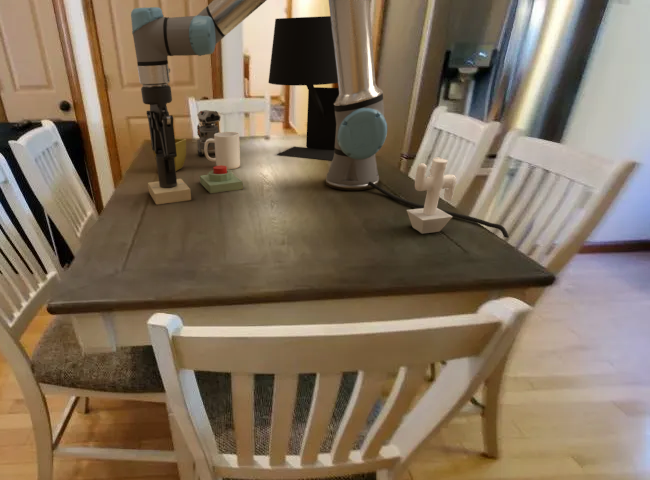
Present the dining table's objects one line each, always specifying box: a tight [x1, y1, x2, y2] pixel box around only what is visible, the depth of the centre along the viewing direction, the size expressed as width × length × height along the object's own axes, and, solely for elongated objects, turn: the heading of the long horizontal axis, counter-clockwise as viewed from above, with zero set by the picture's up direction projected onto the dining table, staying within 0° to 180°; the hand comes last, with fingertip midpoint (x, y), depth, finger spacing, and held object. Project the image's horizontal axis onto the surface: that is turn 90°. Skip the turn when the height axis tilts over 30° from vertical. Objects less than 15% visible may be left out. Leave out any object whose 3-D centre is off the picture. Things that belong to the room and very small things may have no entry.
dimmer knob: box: [154, 153, 178, 188], centre depth 129 cm, size 5×5×8 cm
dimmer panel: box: [147, 178, 192, 206], centre depth 133 cm, size 12×10×3 cm
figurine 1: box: [196, 109, 221, 157], centre depth 169 cm, size 9×12×15 cm
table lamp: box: [267, 15, 339, 162], centre depth 155 cm, size 26×28×40 cm
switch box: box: [199, 169, 244, 194], centre depth 139 cm, size 12×10×4 cm
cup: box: [203, 131, 241, 170], centre depth 156 cm, size 8×12×10 cm
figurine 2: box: [406, 157, 457, 235], centre depth 102 cm, size 7×9×15 cm
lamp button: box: [212, 165, 228, 174], centre depth 138 cm, size 4×4×2 cm
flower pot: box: [150, 138, 187, 172], centre depth 156 cm, size 9×9×9 cm
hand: (167, 181), depth 131 cm, fingers closed on dimmer knob, 5 cm apart
